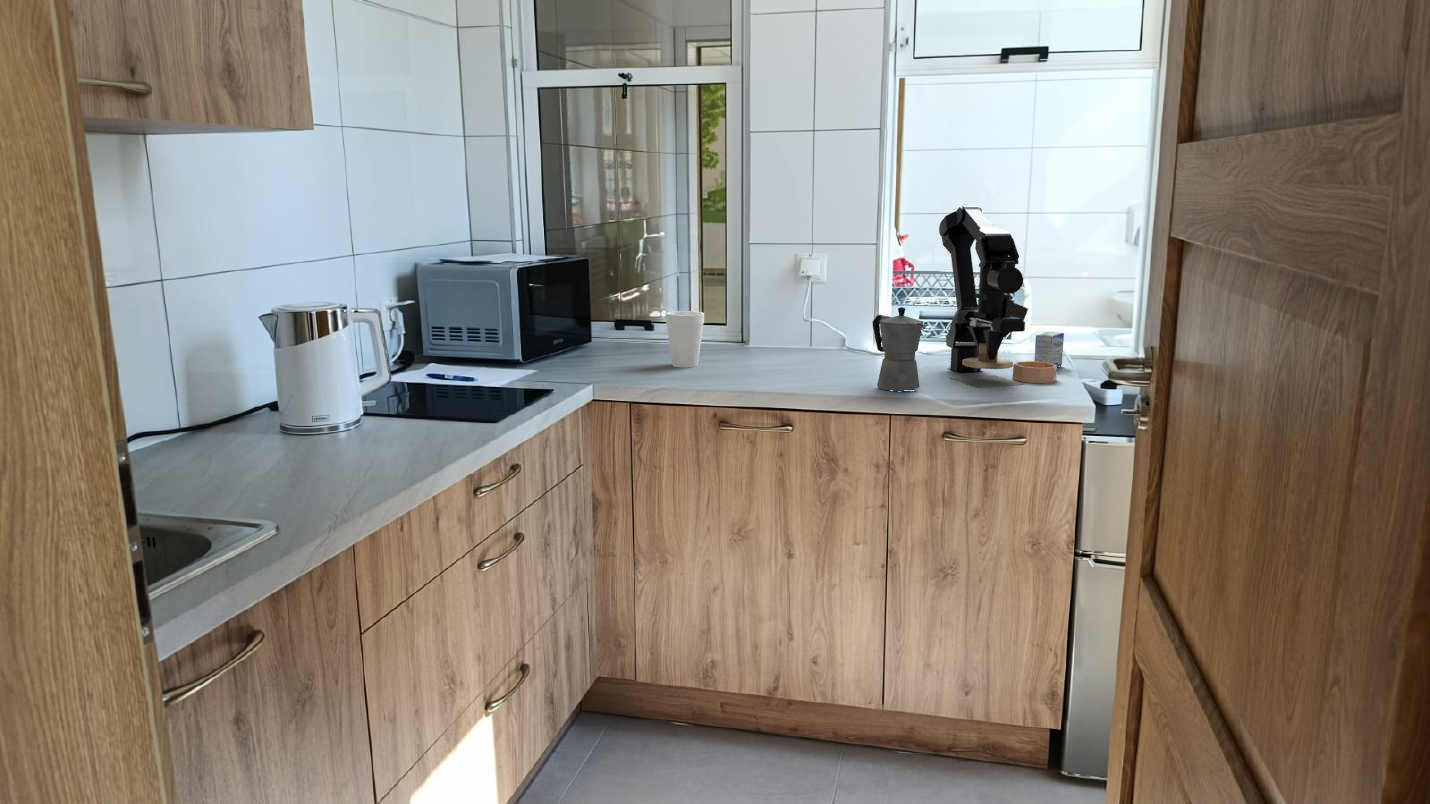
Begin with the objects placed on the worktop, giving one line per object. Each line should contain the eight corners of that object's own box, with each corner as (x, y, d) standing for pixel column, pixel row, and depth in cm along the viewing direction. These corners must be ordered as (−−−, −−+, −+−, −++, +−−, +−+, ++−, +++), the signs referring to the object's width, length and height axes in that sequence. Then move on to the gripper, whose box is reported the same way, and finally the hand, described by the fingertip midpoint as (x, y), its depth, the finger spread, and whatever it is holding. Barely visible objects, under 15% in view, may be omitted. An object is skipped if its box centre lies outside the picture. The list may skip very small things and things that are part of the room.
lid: (979, 370, 223) (980, 348, 222) (953, 362, 233) (954, 341, 232) (1022, 367, 226) (1024, 346, 225) (994, 359, 237) (996, 339, 236)
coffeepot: (935, 391, 222) (939, 309, 219) (903, 395, 217) (907, 311, 214) (886, 379, 235) (889, 302, 231) (855, 383, 230) (858, 304, 226)
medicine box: (1051, 371, 247) (1053, 336, 246) (1033, 369, 250) (1035, 334, 248) (1062, 367, 254) (1064, 332, 252) (1044, 365, 256) (1046, 330, 254)
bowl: (1028, 386, 228) (1030, 369, 227) (1005, 379, 236) (1006, 362, 236) (1063, 384, 231) (1064, 367, 230) (1039, 377, 239) (1040, 360, 238)
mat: (977, 390, 223) (977, 387, 223) (949, 380, 235) (949, 377, 235) (1024, 387, 227) (1024, 384, 227) (994, 377, 238) (994, 375, 238)
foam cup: (706, 362, 256) (706, 311, 254) (702, 369, 247) (702, 315, 245) (668, 361, 257) (668, 310, 255) (663, 368, 248) (663, 315, 246)
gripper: (1048, 292, 220) (1043, 363, 223) (999, 284, 237) (995, 350, 241) (1003, 293, 217) (999, 366, 220) (957, 285, 234) (954, 352, 237)
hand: (987, 358), depth 230 cm, fingers closed on lid, 3 cm apart
